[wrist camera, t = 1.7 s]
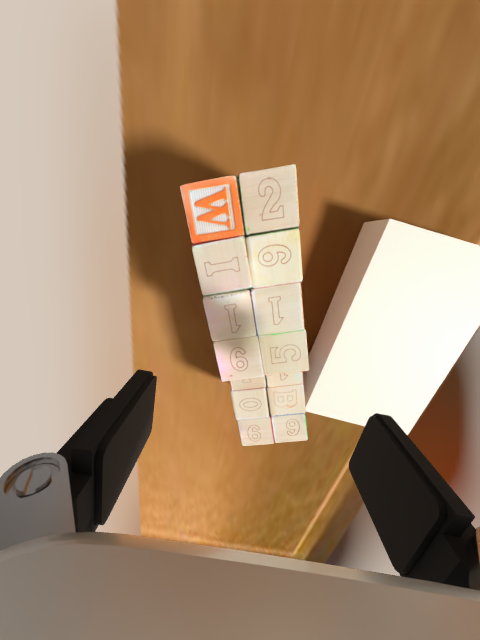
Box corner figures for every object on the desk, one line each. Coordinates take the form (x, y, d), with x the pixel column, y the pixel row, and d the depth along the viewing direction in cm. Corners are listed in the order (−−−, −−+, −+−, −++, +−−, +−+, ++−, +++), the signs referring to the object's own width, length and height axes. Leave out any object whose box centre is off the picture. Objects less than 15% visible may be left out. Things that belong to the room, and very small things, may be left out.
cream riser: (470, 254, 25) (522, 258, 20) (382, 406, 31) (406, 436, 26) (362, 222, 24) (389, 218, 19) (295, 384, 30) (304, 410, 26)
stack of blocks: (291, 383, 30) (317, 473, 19) (242, 387, 31) (238, 478, 19) (274, 199, 23) (298, 159, 12) (212, 209, 24) (177, 181, 12)
